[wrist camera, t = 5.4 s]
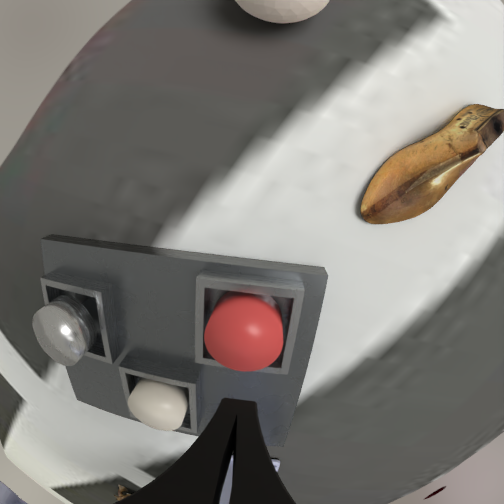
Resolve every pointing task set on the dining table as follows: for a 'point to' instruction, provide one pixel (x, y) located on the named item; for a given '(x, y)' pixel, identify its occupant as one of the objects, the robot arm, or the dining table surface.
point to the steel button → (65, 329)
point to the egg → (282, 9)
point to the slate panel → (180, 326)
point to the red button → (245, 331)
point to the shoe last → (430, 166)
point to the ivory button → (159, 404)
